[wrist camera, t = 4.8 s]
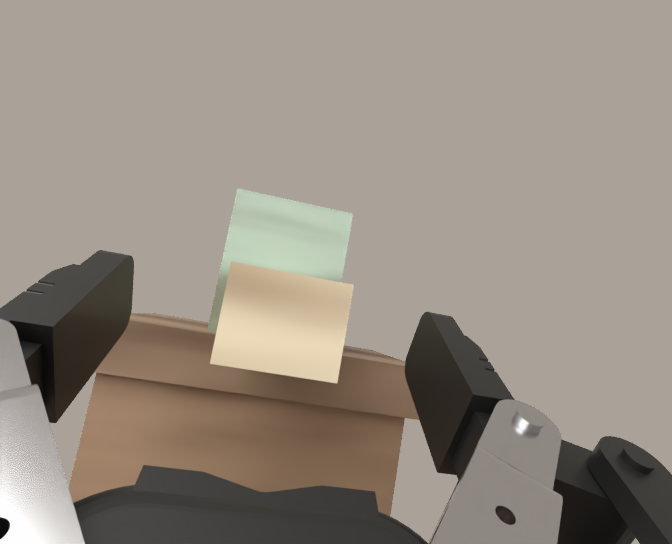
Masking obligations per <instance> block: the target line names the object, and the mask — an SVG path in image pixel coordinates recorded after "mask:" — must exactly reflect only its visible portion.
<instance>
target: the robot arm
mask: <svg viewBox="0 0 672 544" xmlns="http://www.w3.org/2000/svg"><path fill="white" fill-rule="evenodd" d="M133 274H134V261H133V258H132V256H129V255H124V254H118V253H113V252H107V251H103V250H99V251H97V252H96V253H95V254H93V255H92V256H91V257H90V258H88V259H87V260H86V261H84V262H83V263H82V264H81V265H75V264H72V265H69V266H66V267H63V268H60V269H57V270H54V271H52V272H50V273H49V274H47V275H46V276H45V277H43V278H42V279H41V280H39V281H38V283H35V284H34V285H32V286H31V287H30V288H28V289H27V291H26V292H22V293H21V294H20V295H18V296H17V297H16V298H14V299H13V300H11V301H10V302H9V303H7V304H6V305H4V306H3V307H2V308H0V544H631V543H632V542H633V540H634V539H635V538H636V539H637V540H638V541H639V543H640V544H672V475H671V474H670V472H669V471H668V470H667V469H666V468H665V467H664V466H663V465H662V464H661V463H660V462H659V461H658V460H657V459H656V458H654V457H653V456H652V455H651V454H649V453H648V452H646V451H645V450H643V449H642V448H640V447H638V446H637V445H635V444H633V443H631V442H629V441H626V440H623V439H621V438H617V437H611V436H606V437H603V438H601V439H600V441H599V442H598V444H597V445H596V447H595V449H594V450H593V451H590V450H588V449H585V448H582V447H580V446H577V445H574V444H572V443H569V442H566V441H564V440H561V434H560V432H559V430H558V428H557V427H556V425H555V424H554V423H553V422H552V421H551V420H550V419H549V418H548V417H547V416H546V415H545V414H543V413H542V412H540V411H539V410H537V409H535V408H534V407H532V406H530V405H528V404H525V403H523V402H520V401H516V400H514V398H513V397H512V395H511V394H510V392H509V391H508V389H507V388H506V386H505V385H504V383H503V382H502V380H501V379H500V377H499V376H498V374H497V373H496V372H494V368H493V366H492V365H491V363H490V362H488V359H487V357H486V356H485V354H484V353H483V351H482V350H481V348H480V347H479V346H478V345H476V344H475V343H474V342H473V341H472V340H471V339H469V338H468V337H467V336H464V335H463V333H462V331H461V330H460V328H459V327H458V325H457V323H456V322H455V320H454V319H453V318H452V317H451V316H446V315H441V314H435V313H430V312H425V313H424V314H423V315H422V317H421V319H420V322H419V325H418V327H417V330H416V333H415V335H414V338H413V341H412V344H411V346H410V349H409V352H408V354H407V357H406V362H405V378H406V381H407V384H408V387H409V390H410V393H411V396H412V399H413V402H414V405H415V408H416V411H417V414H418V417H419V420H420V422H421V425H422V428H423V431H424V434H425V437H426V440H427V443H428V446H429V449H430V452H431V455H432V458H433V461H434V464H435V467H436V470H437V472H438V473H445V474H453V475H457V477H458V480H459V481H458V483H457V485H456V486H455V488H454V491H453V493H452V495H451V497H450V499H449V501H448V503H447V505H446V507H445V510H444V512H443V514H442V516H441V518H440V520H439V522H438V524H437V526H436V528H435V531H434V533H433V534H432V537H431V539H430V541H429V543H427V542H426V541H424V539H423V538H421V536H419V535H418V534H417V533H415V532H414V531H413V530H411V529H410V528H409V527H407V526H406V525H404V524H402V523H401V522H399V521H398V520H396V519H394V518H392V517H390V516H388V515H386V514H383V513H381V512H378V506H377V500H376V494H375V491H366V490H358V489H349V488H340V487H332V486H323V485H321V486H313V487H305V488H297V489H289V490H281V491H274V492H260V491H256V490H253V489H250V488H248V487H245V486H242V485H239V484H237V483H234V482H231V481H228V480H225V479H223V478H220V477H217V476H214V475H212V474H209V473H206V472H201V471H193V470H184V469H175V468H167V467H158V466H149V465H143V467H142V469H141V472H140V474H139V476H138V479H137V481H136V483H135V485H130V486H123V487H119V488H114V489H110V490H106V491H103V492H100V493H97V494H93V495H91V496H88V497H86V498H83V499H81V500H79V501H76V502H74V503H73V501H72V498H71V494H70V491H69V488H68V485H67V481H66V477H65V474H64V471H63V467H62V464H61V461H60V457H59V454H58V450H57V447H56V444H55V440H54V437H53V433H52V430H51V427H50V423H49V422H51V423H56V422H57V421H58V419H59V418H60V417H61V416H62V414H63V413H64V412H65V410H66V409H67V408H68V406H69V405H70V404H71V402H72V401H73V400H74V398H75V397H76V395H77V394H78V393H79V391H80V390H81V389H82V387H83V386H84V385H85V384H86V382H87V381H88V380H89V378H90V377H91V376H92V374H93V373H94V372H95V370H96V369H97V368H98V366H99V365H100V364H101V362H102V361H103V360H104V358H105V357H106V356H107V354H108V353H109V352H110V350H111V349H112V348H113V346H114V345H115V344H116V342H117V341H118V340H119V338H120V337H121V336H122V334H123V333H124V331H125V330H126V328H127V326H128V323H129V320H130V316H131V310H132V292H133Z"/></svg>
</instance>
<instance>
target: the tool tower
mask: <svg viewBox="0 0 672 544" xmlns="http://www.w3.org/2000/svg"><path fill="white" fill-rule="evenodd" d="M208 325H209V323H208V322H202V321H197V320H191V319H185V318H179V317H173V316H167V315H161V314H154V313H153V314H131V316H130V320H129V323H128V326H127V328H126V330H125V331H124V333H123V334H122V336H121V337H120V338H119V340H118V341H117V342H116V344H115V345H114V346H113V348H112V349H111V350H110V352H109V353H108V354H107V356H106V357H105V358H104V360H103V361H102V362H101V364H100V365H99V366H98V368H97V369H96V370H95V372H96V377H95V381H94V385H93V389H92V393H91V398H90V402H89V406H88V410H87V414H86V418H85V422H84V426H83V430H82V435H81V439H80V443H79V447H78V451H77V455H76V460H75V463H74V468H73V471H72V476H71V480H70V484H69V491H70V494H71V498H72V501H73V503H74V502H76V501H79V500H81V499H83V498H86V497H88V496H91V495H93V494H97V493H100V492H103V491H106V490H110V489H114V488H119V487H123V486H130V485H135V483H136V481H137V479H138V476H139V474H140V472H141V469H142V467H143V465H149V466H158V467H167V468H175V469H184V470H193V471H201V472H206V473H209V474H212V475H214V476H217V477H220V478H223V479H225V480H228V481H231V482H234V483H237V484H239V485H242V486H245V487H248V488H250V489H253V490H256V491H260V492H274V491H281V490H289V489H297V488H305V487H313V486H321V485H323V486H332V487H340V488H349V489H358V490H366V491H375V494H376V500H377V506H378V512H381V513H383V514H386V515H388V516H390V514H391V507H392V500H393V494H394V487H395V480H396V473H397V467H398V459H399V452H400V446H401V440H402V433H403V426H404V419H405V418H410V419H418V420H419V417H418V414H417V411H416V408H415V405H414V402H413V399H412V396H411V393H410V390H409V387H408V384H407V381H406V378H405V362H404V361H401V360H398V359H395V358H393V357H390V356H387V355H384V354H381V353H378V352H376V351H373V350H367V349H361V348H356V347H350V346H344V347H343V353H342V358H341V364H340V370H339V376H338V382H337V383H331V382H325V381H318V380H312V379H305V378H299V377H292V376H286V375H279V374H273V373H267V372H260V371H254V370H247V369H241V368H234V367H228V366H221V365H215V364H210V360H211V355H212V350H213V346H214V341H215V336H216V333H213V332H207V330H208Z"/></svg>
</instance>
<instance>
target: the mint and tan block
mask: <svg viewBox="0 0 672 544" xmlns="http://www.w3.org/2000/svg"><path fill="white" fill-rule="evenodd" d="M352 217H353V214H352V213H347V212H342V211H338V210H333V209H329V208H324V207H319V206H315V205H310V204H306V203H302V202H297V201H292V200H288V199H284V198H278V197H274V196H270V195H265V194H261V193H256V192H252V191H247V190H242V189H237V193H236V198H235V203H234V208H233V212H232V218H231V222H230V226H229V231H228V236H227V241H226V245H225V250H224V255H223V259H222V264H221V269H220V273H219V279H218V283H217V288H216V292H215V297H214V302H213V307H212V311H211V316H210V320H209V325H208V330H207V332H213V333H216V336H215V341H214V346H213V350H212V355H211V360H210V364H215V365H221V366H228V367H234V368H241V369H247V370H254V371H260V372H267V373H273V374H279V375H286V376H292V377H299V378H305V379H312V380H318V381H325V382H331V383H337V382H338V376H339V370H340V364H341V358H342V353H343V347H344V341H345V335H346V328H347V323H348V317H349V311H350V306H351V300H352V294H353V288H354V285H352V284H346V283H341V280H342V274H343V268H344V263H345V257H346V251H347V246H348V240H349V234H350V229H351V223H352Z"/></svg>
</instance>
